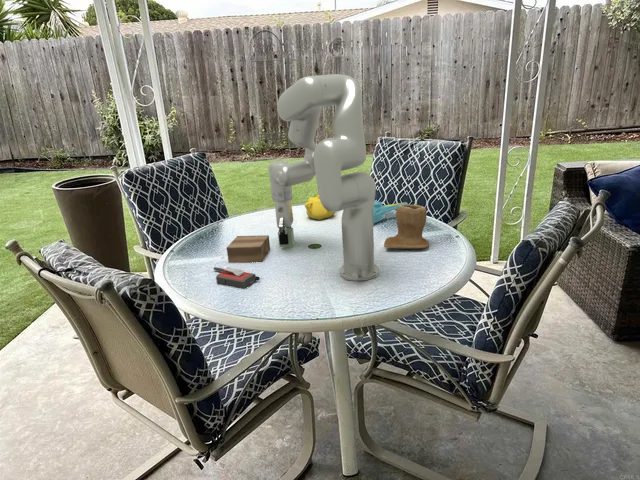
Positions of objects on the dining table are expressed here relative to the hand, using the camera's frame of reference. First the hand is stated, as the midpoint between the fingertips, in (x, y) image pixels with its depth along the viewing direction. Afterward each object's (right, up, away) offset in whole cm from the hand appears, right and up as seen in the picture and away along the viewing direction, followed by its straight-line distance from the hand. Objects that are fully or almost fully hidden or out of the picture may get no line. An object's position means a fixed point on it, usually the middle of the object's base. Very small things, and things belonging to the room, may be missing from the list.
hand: (286, 239), depth 167 cm
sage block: (0, -2, +1) cm, 2 cm away
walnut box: (-12, -6, -8) cm, 16 cm away
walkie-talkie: (-16, -13, -26) cm, 33 cm away
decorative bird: (+35, +5, +14) cm, 38 cm away
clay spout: (+44, -3, -9) cm, 45 cm away
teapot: (+14, +10, +32) cm, 37 cm away
